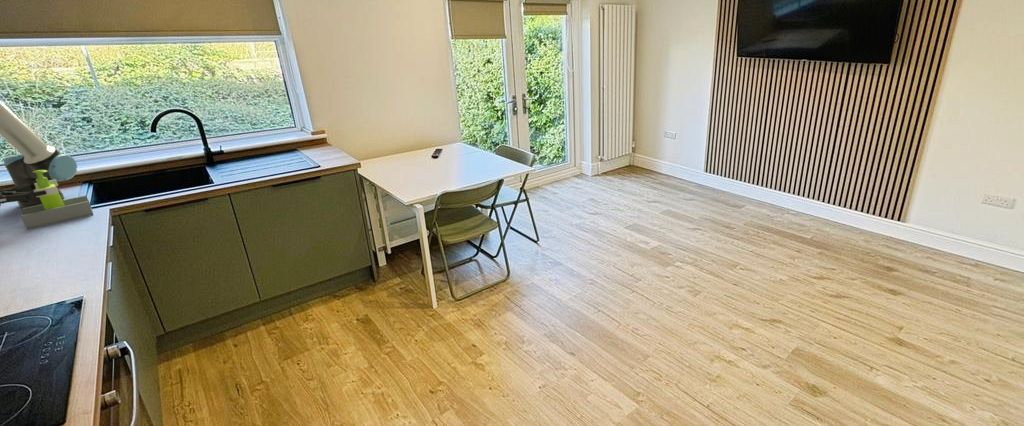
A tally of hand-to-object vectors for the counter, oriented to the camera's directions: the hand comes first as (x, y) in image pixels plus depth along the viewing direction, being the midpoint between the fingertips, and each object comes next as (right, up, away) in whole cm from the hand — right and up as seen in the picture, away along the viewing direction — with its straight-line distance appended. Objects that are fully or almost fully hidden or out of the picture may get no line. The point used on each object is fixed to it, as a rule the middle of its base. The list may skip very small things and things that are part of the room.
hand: (57, 185), depth 186 cm
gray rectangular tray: (-2, -13, +3) cm, 14 cm away
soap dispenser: (-2, -13, +3) cm, 13 cm away
